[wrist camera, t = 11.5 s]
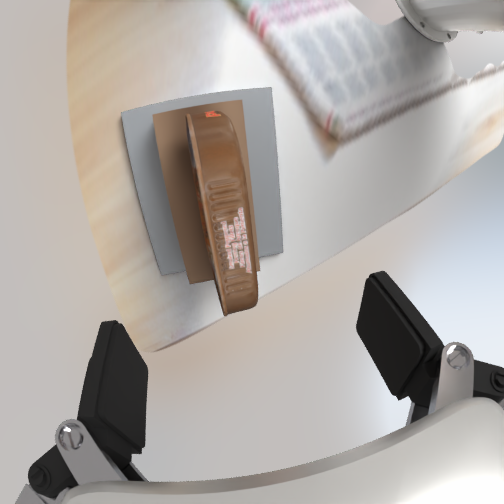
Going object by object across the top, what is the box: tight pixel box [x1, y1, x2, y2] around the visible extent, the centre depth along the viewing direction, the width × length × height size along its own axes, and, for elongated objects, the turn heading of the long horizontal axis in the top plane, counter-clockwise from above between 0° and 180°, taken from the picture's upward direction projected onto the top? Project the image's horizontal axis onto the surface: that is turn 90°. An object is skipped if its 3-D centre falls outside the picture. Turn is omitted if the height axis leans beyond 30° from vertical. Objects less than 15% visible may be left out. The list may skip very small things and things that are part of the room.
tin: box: [185, 111, 258, 316], centre depth 19 cm, size 15×3×8 cm, turn 5°
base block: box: [152, 100, 260, 284], centre depth 25 cm, size 7×16×4 cm, turn 6°
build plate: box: [121, 87, 283, 275], centre depth 27 cm, size 14×18×1 cm
